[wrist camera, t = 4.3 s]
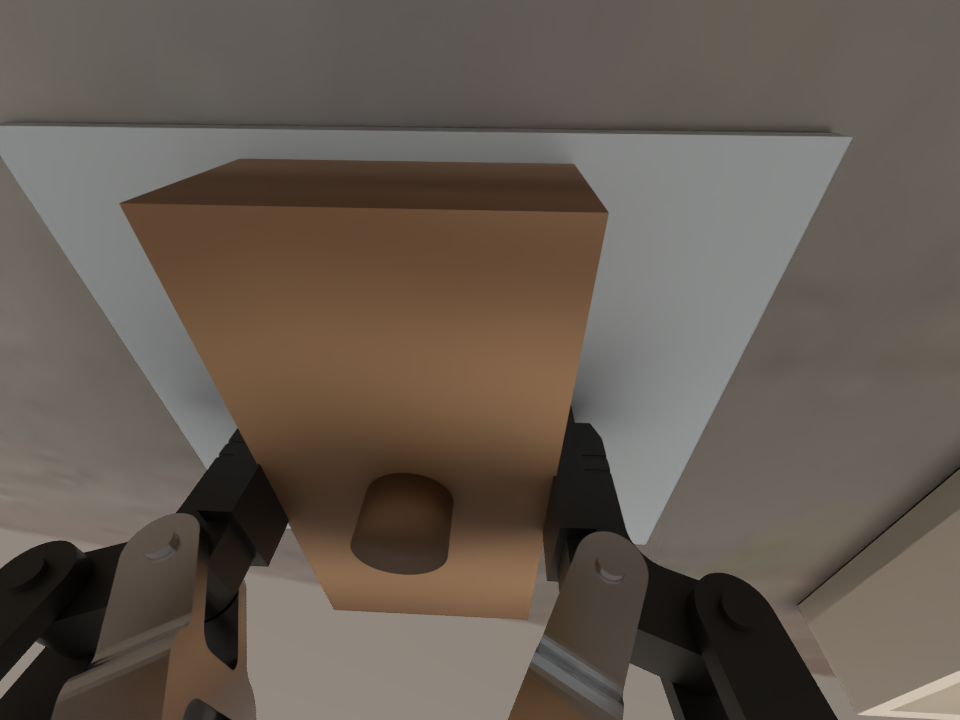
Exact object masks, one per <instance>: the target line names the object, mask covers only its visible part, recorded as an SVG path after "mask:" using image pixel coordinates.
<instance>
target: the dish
mask: <svg viewBox="0 0 960 720" xmlns="http://www.w3.org/2000/svg"><path fill="white" fill-rule="evenodd" d="M798 608H799V610H800V612H801V613H802V615H803V617H804V619H805V621H806V623H807V625H808V626H809V628H810V630H811V632H812V634H813V636H814V637H815V639H816V641H817V643H818V645H819V647H820V648H821V650H822V652H823V654H824V656H825V658H826V659H827V661H828V663H829V665H830V667H831V669H832V670H833V672H834V674H835V676H836V678H837V680H838V681H839V683H840V685H841V687H842V689H843V691H844V692H845V694H846V696H847V698H848V700H849V701H850V704H851V705H852V707H853V709H854V711H855V713H856V715H871V716H890V717H907V718H924V719H942V720H960V469H959V470H958V471H957V472H955V473H954V474H953V475H952V476H951V477H950V478H948V479H947V480H946V481H945V482H944V483H942V484H941V485H940V486H939V487H938V488H937V489H935V490H934V491H933V492H932V493H931V494H929V495H928V496H927V497H926V498H925V499H924V500H922V501H921V502H920V503H919V504H918V505H916V506H915V507H914V508H913V509H912V510H911V511H909V512H908V513H907V514H906V515H905V516H903V517H902V518H901V519H900V520H899V521H897V522H896V523H895V524H894V525H893V526H892V527H890V528H889V529H888V530H887V531H886V532H884V533H883V534H882V535H881V536H880V537H879V538H877V539H876V540H875V541H874V542H873V543H871V544H870V545H869V546H868V547H867V548H866V549H864V550H863V551H862V552H861V553H860V554H858V555H857V556H856V557H855V558H854V559H853V560H851V561H850V562H849V563H848V564H847V565H845V566H844V567H843V568H842V569H841V570H839V571H838V572H837V573H836V574H835V575H834V576H832V577H831V578H830V579H829V580H828V581H826V582H825V583H824V584H823V585H822V586H821V587H819V588H818V589H817V590H816V591H815V592H813V593H812V594H811V595H810V596H809V597H808V598H806V599H805V600H804V601H803V602H802V603H800V604H799V605H798Z"/></svg>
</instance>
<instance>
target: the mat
mask: <svg viewBox="0 0 960 720" xmlns="http://www.w3.org/2000/svg"><path fill="white" fill-rule="evenodd" d="M852 138H853V137H851V136H846V135H842V134H837V133H808V132H731V131H653V130H576V129H498V128H421V127H343V126H266V125H188V124H111V123H33V122H4V123H0V156H1V158H2V159H3V161H4V162H5V164H6V165H7V167H8V168H9V170H10V171H11V173H12V174H13V176H14V177H15V179H16V180H17V182H18V183H19V185H20V186H21V188H22V189H23V191H24V192H25V194H26V196H27V197H28V199H29V200H30V202H31V203H32V205H33V206H34V208H35V209H36V211H37V212H38V214H39V215H40V217H41V218H42V220H43V221H44V223H45V224H46V226H47V227H48V229H49V230H50V232H51V233H52V235H53V236H54V238H55V240H56V241H57V243H58V244H59V246H60V247H61V249H62V250H63V252H64V253H65V255H66V256H67V258H68V259H69V261H70V262H71V264H72V265H73V267H74V268H75V270H76V271H77V273H78V274H79V276H80V277H81V279H82V280H83V282H84V284H85V285H86V287H87V288H88V290H89V291H90V293H91V294H92V296H93V297H94V299H95V300H96V302H97V303H98V305H99V306H100V308H101V309H102V311H103V312H104V314H105V315H106V317H107V318H108V320H109V321H110V323H111V324H112V326H113V328H114V329H115V331H116V332H117V334H118V335H119V337H120V338H121V340H122V341H123V343H124V344H125V346H126V347H127V349H128V350H129V352H130V353H131V355H132V356H133V358H134V359H135V361H136V362H137V364H138V365H139V367H140V368H141V370H142V372H143V373H144V375H145V376H146V378H147V379H148V381H149V382H150V384H151V385H152V387H153V388H154V390H155V391H156V393H157V394H158V396H159V397H160V399H161V400H162V402H163V403H164V405H165V406H166V408H167V409H168V411H169V412H170V414H171V416H172V417H173V419H174V420H175V422H176V423H177V425H178V426H179V428H180V429H181V431H182V432H183V434H184V435H185V437H186V438H187V440H188V441H189V443H190V444H191V446H192V447H193V449H194V450H195V452H196V453H197V455H198V456H199V458H200V460H201V461H202V463H203V464H204V466H205V467H206V469H207V470H208V468H209V467H210V465H211V464H212V463H213V461H214V460H215V459H216V457H219V453H220V452H221V450H222V449H223V447H224V446H225V445H226V444H228V443H229V441H228V440H229V439H230V438H231V436H232V435H233V433H234V432H235V431H236V429H237V428H238V427H237V425H236V424H235V422H234V420H233V418H232V416H231V414H230V412H229V410H228V408H227V407H226V405H225V403H224V401H223V399H222V397H221V395H220V393H219V391H218V390H217V388H216V386H215V384H214V382H213V380H212V378H211V376H210V374H209V373H208V371H207V369H206V367H205V365H204V363H203V361H202V359H201V357H200V356H199V354H198V352H197V350H196V348H195V346H194V344H193V342H192V340H191V339H190V337H189V335H188V333H187V331H186V329H185V327H184V325H183V323H182V322H181V320H180V318H179V316H178V314H177V312H176V310H175V308H174V307H173V305H172V303H171V301H170V299H169V297H168V295H167V293H166V291H165V290H164V288H163V286H162V284H161V282H160V280H159V278H158V276H157V274H156V273H155V271H154V269H153V267H152V265H151V263H150V261H149V259H148V257H147V256H146V254H145V252H144V250H143V248H142V246H141V244H140V242H139V240H138V239H137V237H136V235H135V233H134V231H133V229H132V227H131V225H130V223H129V222H128V220H127V218H126V216H125V214H124V212H123V210H122V208H121V206H120V205H119V203H121V202H124V201H126V200H129V199H132V198H135V197H137V196H140V195H143V194H145V193H148V192H151V191H153V190H156V189H159V188H162V187H164V186H167V185H170V184H172V183H175V182H178V181H180V180H183V179H186V178H189V177H191V176H194V175H197V174H199V173H202V172H205V171H207V170H210V169H213V168H216V167H218V166H221V165H224V164H226V163H229V162H232V161H234V160H237V159H295V160H359V161H424V162H488V163H552V164H575V166H576V167H577V169H578V170H579V171H580V173H581V174H582V176H583V177H584V178H585V180H586V181H587V183H588V184H589V185H590V187H591V188H592V190H593V191H594V192H595V194H596V195H597V197H598V198H599V199H600V201H601V202H602V204H603V205H604V206H605V208H606V209H607V211H608V212H609V215H608V220H607V225H606V230H605V235H604V240H603V245H602V250H601V255H600V260H599V265H598V270H597V275H596V280H595V285H594V290H593V295H592V300H591V305H590V310H589V315H588V320H587V325H586V330H585V335H584V340H583V345H582V350H581V355H580V360H579V365H578V370H577V375H576V380H575V385H574V390H573V395H572V400H571V406H572V411H573V416H574V421H575V423H590V424H591V425H592V426H593V428H594V429H595V430H596V431H597V433H598V434H599V435H600V437H601V438H602V441H603V444H604V448H605V452H606V459H608V463H609V467H610V474H612V478H613V482H614V486H615V489H616V493H617V497H618V501H619V504H620V508H621V512H622V516H623V519H624V523H625V527H626V530H627V533H628V535H629V537H630V539H631V541H632V542H633V544H645V545H646V543H647V541H648V539H649V537H650V535H651V533H652V531H653V529H654V527H655V525H656V523H657V521H658V519H659V517H660V515H661V513H662V511H663V509H664V507H665V505H666V503H667V501H668V499H669V497H670V495H671V493H672V491H673V489H674V488H675V486H676V484H677V482H678V480H679V478H680V476H681V474H682V472H683V470H684V468H685V466H686V464H687V462H688V460H689V458H690V456H691V454H692V452H693V450H694V448H695V446H696V444H697V442H698V440H699V438H700V436H701V434H702V432H703V431H704V429H705V427H706V425H707V423H708V421H709V419H710V417H711V415H712V413H713V411H714V409H715V407H716V405H717V403H718V401H719V399H720V397H721V395H722V393H723V391H724V389H725V387H726V385H727V383H728V381H729V379H730V377H731V375H732V374H733V372H734V370H735V368H736V366H737V364H738V362H739V360H740V358H741V356H742V354H743V352H744V350H745V348H746V346H747V344H748V342H749V340H750V338H751V336H752V334H753V332H754V330H755V328H756V326H757V324H758V322H759V320H760V318H761V317H762V315H763V313H764V311H765V309H766V307H767V305H768V303H769V301H770V299H771V297H772V295H773V293H774V291H775V289H776V287H777V285H778V283H779V281H780V279H781V277H782V275H783V273H784V271H785V269H786V267H787V265H788V263H789V261H790V260H791V258H792V256H793V254H794V252H795V250H796V248H797V246H798V244H799V242H800V240H801V238H802V236H803V234H804V232H805V230H806V228H807V226H808V224H809V222H810V220H811V218H812V216H813V214H814V212H815V210H816V208H817V206H818V204H819V203H820V201H821V199H822V197H823V195H824V193H825V191H826V189H827V187H828V185H829V183H830V181H831V179H832V177H833V175H834V173H835V171H836V169H837V167H838V165H839V163H840V161H841V159H842V157H843V155H844V153H845V151H846V149H847V147H848V146H849V144H850V142H851V140H852ZM286 528H289V529H291V527H290V525H289V524H287V527H286Z"/></svg>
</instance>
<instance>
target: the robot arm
mask: <svg viewBox="0 0 960 720" xmlns="http://www.w3.org/2000/svg"><path fill="white" fill-rule="evenodd" d="M228 441H229V443H228V444H226V445H225V446H224V447H223V449H222V450H221V452H220V453H219V457H216V459H215V460H214V461H213V463H212V464H211V465H210V467H209V468H208V470H207V471H206V472H205V474H204V475H203V477H202V478H201V479H200V481H199V482H198V484H197V485H196V486H195V488H194V489H193V491H192V492H191V493H190V495H189V496H188V497H187V499H186V500H185V502H184V503H183V504H182V506H181V507H180V508H179V510H178V511H177V512H176V513H175V514H170V515H167V516H164V517H161V518H159V519H157V520H155V521H153V522H151V523H150V524H148V525H146V526H145V527H144V528H142V529H141V530H140V531H138V532H137V533H136V534H135V535H134V536H133V537H132V538H131V539H130V540H129V542H126V543H122V544H118V545H114V546H110V547H105V548H101V549H98V550H94V551H90V552H85V553H83V552H82V551H81V550H79V549H78V548H77V547H76V546H75V545H73V544H72V543H70V542H67V541H52V542H48V543H44V544H41V545H38V546H36V547H34V548H31V549H29V550H27V551H25V552H24V553H22V554H20V555H19V556H17V557H15V558H14V559H13V560H11V561H10V562H8V563H7V564H6V565H5V566H3V567H2V568H1V569H0V681H1V679H2V678H3V677H4V676H5V675H6V674H7V673H8V672H9V670H10V669H11V668H12V667H13V666H14V665H15V664H16V663H17V661H18V660H19V659H20V658H21V657H22V656H23V655H24V654H25V653H26V651H27V650H28V649H29V648H30V647H31V646H32V645H33V643H34V642H35V641H36V642H38V643H40V644H42V645H43V646H45V648H44V649H43V651H42V652H41V653H40V654H39V655H38V656H37V657H36V659H35V660H34V661H33V662H32V663H31V665H30V666H29V667H28V668H27V669H26V670H25V671H24V672H23V674H22V675H21V676H20V677H19V678H18V679H17V681H16V682H15V683H14V684H13V685H12V686H11V687H10V689H9V690H8V691H7V692H6V693H5V694H4V696H3V697H2V698H1V699H0V720H256V707H255V699H254V694H253V690H252V687H251V685H250V682H249V679H248V674H247V656H246V655H247V654H246V653H247V650H246V648H247V646H246V645H247V644H246V584H245V581H244V580H243V579H244V577H245V575H246V573H247V571H248V569H249V567H250V566H267V567H268V566H269V564H270V561H271V559H272V557H273V555H274V553H275V550H276V548H277V546H278V544H279V542H280V540H281V537H282V535H283V533H284V531H285V529H286V527H287V524H288V522H289V519H288V517H287V515H286V513H285V511H284V509H283V508H282V506H281V504H280V502H279V500H278V498H277V496H276V494H275V492H274V490H273V488H272V487H271V485H270V483H269V481H268V479H267V477H266V475H265V473H264V471H263V469H262V467H261V466H260V464H257V463H256V461H255V459H254V458H253V456H252V454H251V452H250V450H249V448H248V446H247V444H246V442H245V441H244V439H243V437H242V435H241V433H240V431H239V429H238V428H237V429H236V431H235V432H234V433H233V435H232V436H231V438H230V439H229V440H228ZM543 541H544V553H545V564H546V576H547V581H557V582H558V583H559V592H560V593H559V596H558V598H557V601H556V603H555V606H554V608H553V611H552V613H551V616H550V619H549V621H548V624H547V626H546V629H545V631H544V634H543V636H542V639H541V641H540V643H539V645H538V647H537V649H536V651H535V653H534V656H533V658H532V660H531V663H530V665H529V668H528V670H527V673H526V675H525V678H524V680H523V683H522V685H521V688H520V690H519V693H518V695H517V698H516V701H515V703H514V705H513V708H512V711H511V713H510V716H509V718H508V720H622V719H623V711H624V710H623V709H624V703H623V690H624V685H625V680H626V676H627V671H628V667H629V663H631V664H633V665H635V666H638V667H640V668H642V669H644V670H647V671H649V672H651V673H653V674H655V675H658V676H660V678H661V681H662V684H663V687H664V690H665V693H666V695H667V698H668V701H669V704H670V707H671V710H672V713H673V716H674V719H675V720H838V719H837V717H836V716H835V714H834V713H833V711H832V709H831V707H830V706H829V704H828V702H827V700H826V699H825V697H824V695H823V694H822V692H821V690H820V689H819V687H818V686H817V683H816V682H815V680H814V678H813V677H812V675H811V673H810V672H809V670H808V668H807V666H806V665H805V663H804V661H803V660H802V658H801V656H800V655H799V653H798V651H797V649H796V648H795V646H794V644H793V643H792V641H791V639H790V638H789V636H788V634H787V632H786V631H785V629H784V627H783V626H782V624H781V622H780V621H779V619H778V617H777V616H776V614H775V612H774V610H773V609H772V607H771V606H770V604H769V603H768V602H767V600H766V599H765V598H764V597H763V596H762V595H761V594H760V593H759V592H758V591H757V590H756V589H755V588H753V587H752V586H751V585H750V584H748V583H746V582H745V581H743V580H741V579H739V578H737V577H735V576H732V575H729V574H725V573H711V574H708V575H706V576H704V577H703V578H701V579H700V581H699V580H696V579H693V578H691V577H688V576H685V575H682V574H680V573H677V572H674V571H672V570H669V569H666V568H664V567H662V566H659V565H657V564H656V563H654V562H652V561H651V560H649V559H648V558H647V557H645V556H644V555H643V554H642V553H641V552H640V551H639V550H638V549H637V548H636V546H635V545H634V544H633V542H632V541H631V539H630V537H629V535H628V533H627V530H626V527H625V523H624V519H623V516H622V512H621V508H620V504H619V501H618V497H617V493H616V489H615V486H614V482H613V478H612V474H610V467H609V463H608V459H606V452H605V448H604V444H603V441H602V438H601V437H600V435H599V434H598V433H597V431H596V430H595V429H594V428H593V426H592V425H591V424H590V423H575V421H574V416H573V411H572V406H571V405H570V410H569V415H568V420H567V425H566V430H565V435H564V440H563V445H562V450H561V455H560V460H559V465H558V470H557V475H556V476H553V481H552V486H551V491H550V496H549V501H548V507H547V512H546V517H545V522H544V527H543Z"/></svg>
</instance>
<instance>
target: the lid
mask: <svg viewBox="0 0 960 720" xmlns="http://www.w3.org/2000/svg"><path fill="white" fill-rule="evenodd" d="M119 205H120V206H121V208H122V210H123V212H124V214H125V216H126V218H127V220H128V222H129V223H130V225H131V227H132V229H133V231H134V233H135V235H136V237H137V239H138V240H139V242H140V244H141V246H142V248H143V250H144V252H145V254H146V256H147V257H148V259H149V261H150V263H151V265H152V267H153V269H154V271H155V273H156V274H157V276H158V278H159V280H160V282H161V284H162V286H163V288H164V290H165V291H166V293H167V295H168V297H169V299H170V301H171V303H172V305H173V307H174V308H175V310H176V312H177V314H178V316H179V318H180V320H181V322H182V323H183V325H184V327H185V329H186V331H187V333H188V335H189V337H190V339H191V340H192V342H193V344H194V346H195V348H196V350H197V352H198V354H199V356H200V357H201V359H202V361H203V363H204V365H205V367H206V369H207V371H208V373H209V374H210V376H211V378H212V380H213V382H214V384H215V386H216V388H217V390H218V391H219V393H220V395H221V397H222V399H223V401H224V403H225V405H226V407H227V408H228V410H229V412H230V414H231V416H232V418H233V420H234V422H235V424H236V425H237V427H238V429H239V431H240V433H241V435H242V437H243V439H244V441H245V442H246V444H247V446H248V448H249V450H250V452H251V454H252V456H253V458H254V459H255V461H256V463H257V464H260V466H261V467H262V469H263V471H264V473H265V475H266V477H267V479H268V481H269V483H270V485H271V487H272V488H273V490H274V492H275V494H276V496H277V498H278V500H279V502H280V504H281V506H282V508H283V509H284V511H285V513H286V515H287V517H288V519H289V522H288V524H289V525H290V527H291V529H292V531H293V533H294V535H295V537H296V539H297V541H298V542H299V544H300V546H301V548H302V550H303V552H304V554H305V556H306V558H307V559H308V561H309V563H310V565H311V567H312V569H313V571H314V573H315V575H316V576H317V578H318V580H319V582H320V584H321V586H322V588H323V590H324V592H325V593H326V595H327V597H328V599H329V601H330V603H331V605H332V607H333V609H334V610H347V611H367V612H386V613H408V614H426V615H445V616H465V617H484V618H503V619H523V620H528V615H529V610H530V605H531V600H532V595H533V590H534V585H535V580H536V575H537V570H538V565H539V560H540V555H541V550H542V545H543V527H544V522H545V517H546V512H547V507H548V501H549V496H550V491H551V486H552V481H553V476H556V475H557V470H558V465H559V460H560V455H561V450H562V445H563V440H564V435H565V430H566V425H567V420H568V415H569V410H570V405H571V400H572V395H573V390H574V385H575V380H576V375H577V370H578V365H579V360H580V355H581V350H582V345H583V340H584V335H585V330H586V325H587V320H588V315H589V310H590V305H591V300H592V295H593V290H594V285H595V280H596V275H597V270H598V265H599V260H600V255H601V250H602V245H603V240H604V235H605V230H606V225H607V220H608V215H609V212H608V211H607V209H606V208H605V206H604V205H603V204H602V202H601V201H600V199H599V198H598V197H597V195H596V194H595V192H594V191H593V190H592V188H591V187H590V185H589V184H588V183H587V181H586V180H585V178H584V177H583V176H582V174H581V173H580V171H579V170H578V169H577V167H576V166H575V164H552V163H488V162H424V161H359V160H295V159H237V160H234V161H232V162H229V163H226V164H224V165H221V166H218V167H216V168H213V169H210V170H207V171H205V172H202V173H199V174H197V175H194V176H191V177H189V178H186V179H183V180H180V181H178V182H175V183H172V184H170V185H167V186H164V187H162V188H159V189H156V190H153V191H151V192H148V193H145V194H143V195H140V196H137V197H135V198H132V199H129V200H126V201H124V202H121V203H119Z"/></svg>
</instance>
